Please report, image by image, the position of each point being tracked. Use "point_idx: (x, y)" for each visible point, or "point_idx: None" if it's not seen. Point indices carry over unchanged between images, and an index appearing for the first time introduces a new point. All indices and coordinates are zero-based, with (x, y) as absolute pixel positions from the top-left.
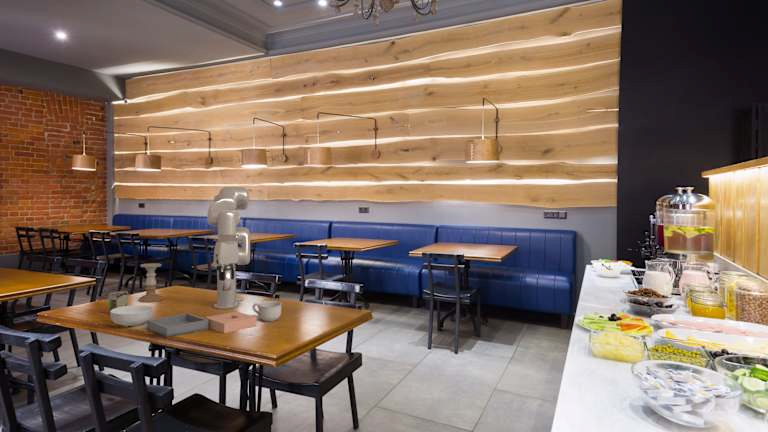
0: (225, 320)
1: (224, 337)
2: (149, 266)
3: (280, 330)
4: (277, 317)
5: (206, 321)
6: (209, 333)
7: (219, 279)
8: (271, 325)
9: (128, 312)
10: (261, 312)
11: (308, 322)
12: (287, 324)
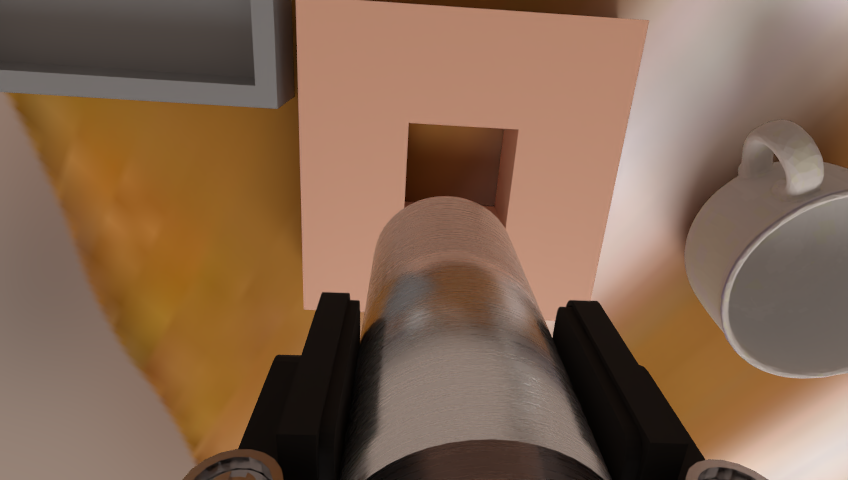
0: (367, 233)
1: (269, 345)
2: None
3: None
4: (756, 313)
5: (261, 105)
6: (243, 206)
7: (322, 299)
8: (631, 346)
9: None
10: (700, 269)
11: (803, 447)
12: (702, 396)
